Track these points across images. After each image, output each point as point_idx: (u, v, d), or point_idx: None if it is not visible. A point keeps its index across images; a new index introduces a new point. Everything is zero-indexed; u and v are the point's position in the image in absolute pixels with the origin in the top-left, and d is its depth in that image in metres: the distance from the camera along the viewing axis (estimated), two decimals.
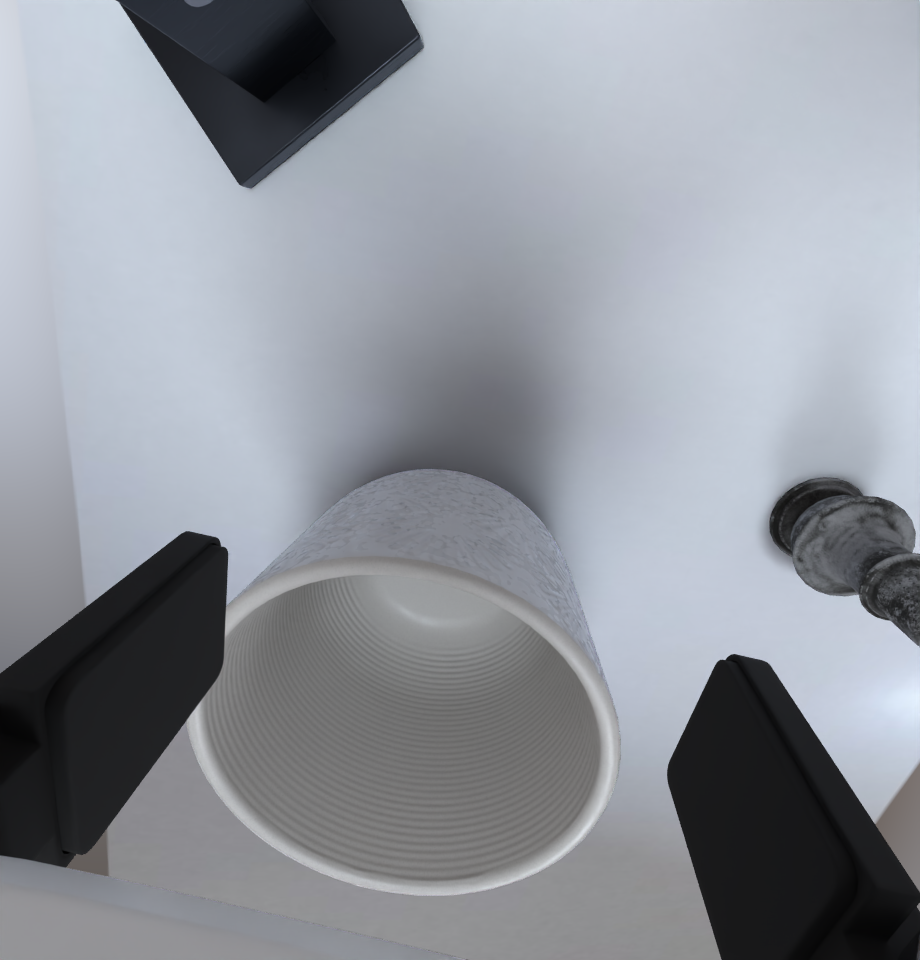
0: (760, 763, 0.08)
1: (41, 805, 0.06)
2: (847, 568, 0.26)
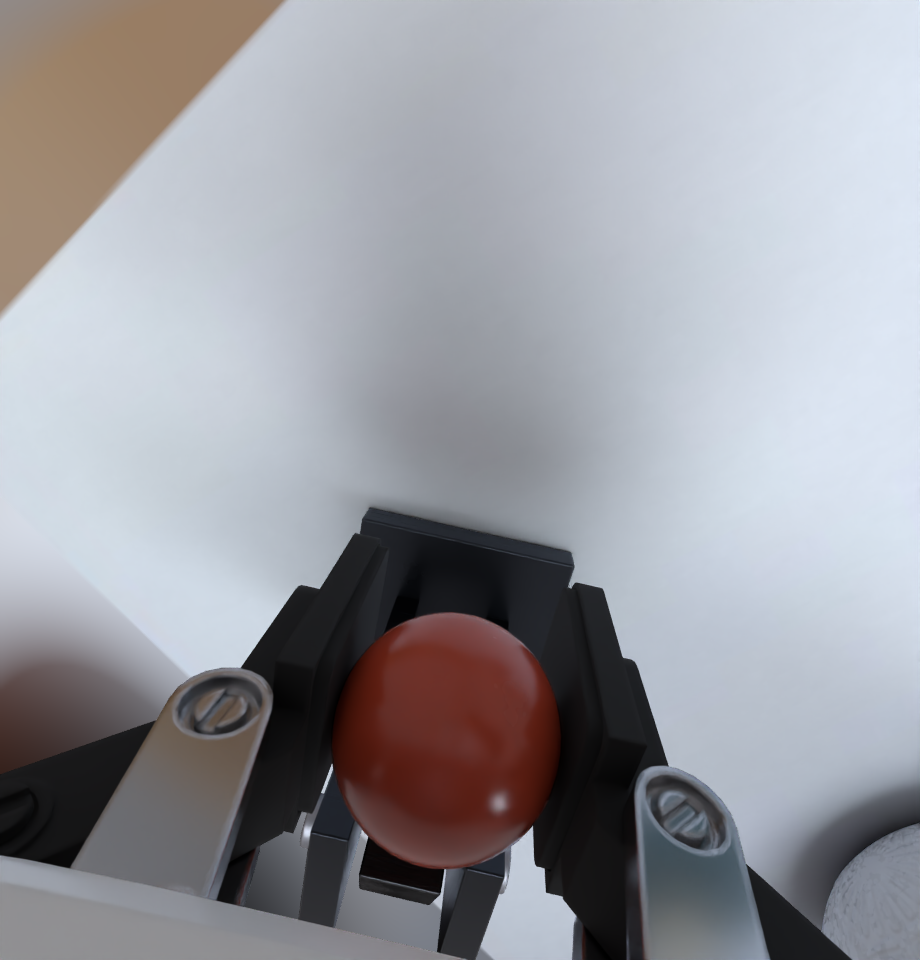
0: (568, 664, 0.09)
1: (299, 767, 0.07)
2: None
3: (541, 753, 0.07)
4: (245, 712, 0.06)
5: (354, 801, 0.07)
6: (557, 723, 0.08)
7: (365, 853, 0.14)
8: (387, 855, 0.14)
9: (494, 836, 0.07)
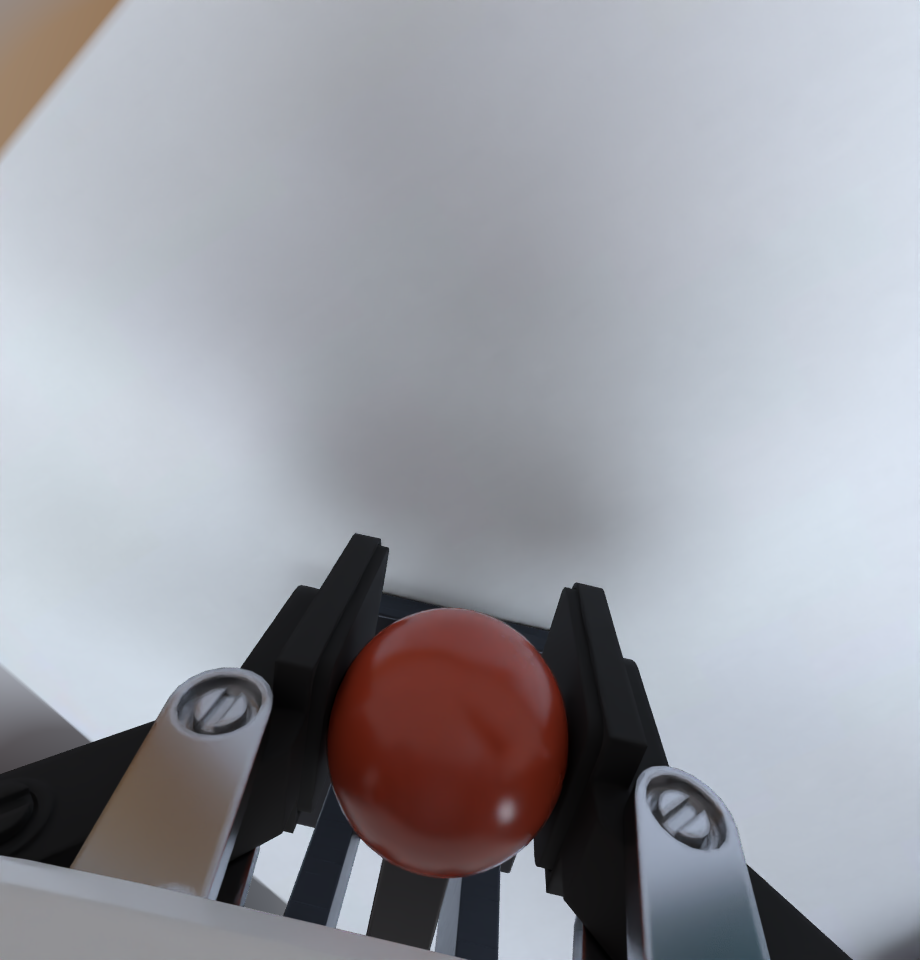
0: (569, 664, 0.09)
1: (298, 767, 0.07)
2: None
3: (552, 706, 0.07)
4: (244, 712, 0.06)
5: (359, 759, 0.07)
6: (562, 698, 0.08)
7: None
8: None
9: (513, 783, 0.06)
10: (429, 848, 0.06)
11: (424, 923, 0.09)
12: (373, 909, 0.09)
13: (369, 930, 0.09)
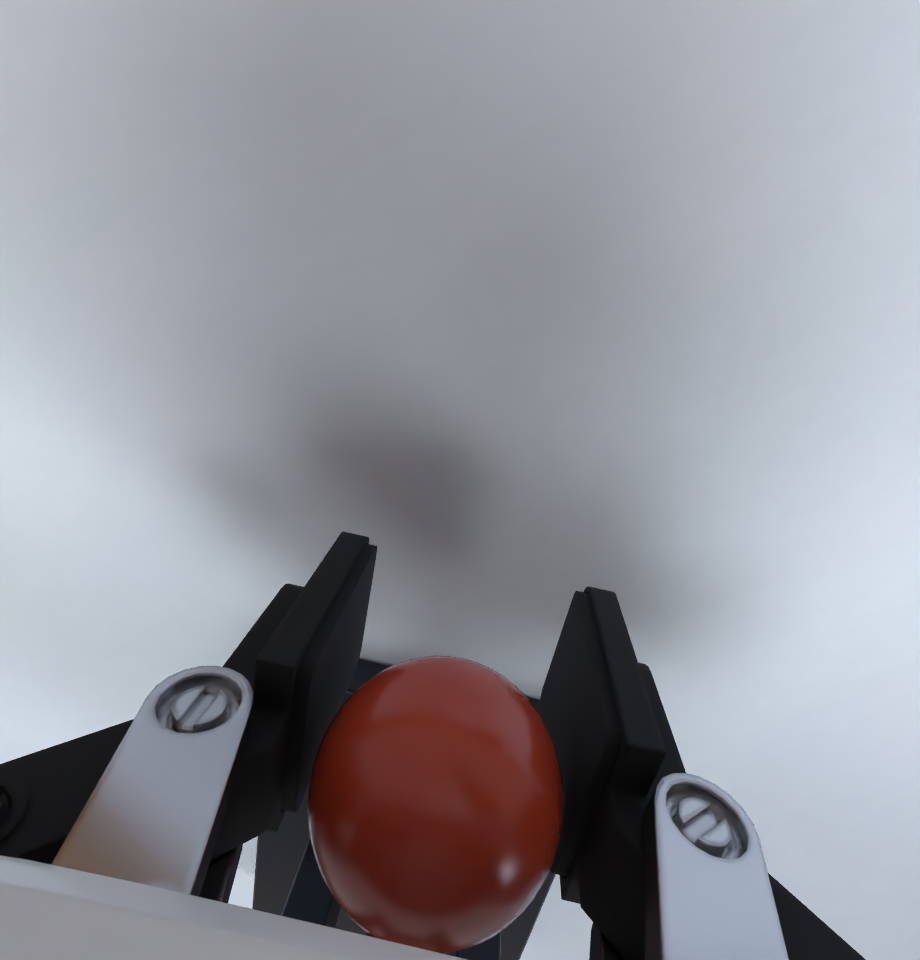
0: (583, 669, 0.09)
1: (281, 766, 0.07)
2: None
3: (544, 740, 0.07)
4: (224, 710, 0.06)
5: (351, 791, 0.06)
6: (553, 744, 0.08)
7: None
8: None
9: (511, 810, 0.06)
10: (423, 890, 0.06)
11: None
12: None
13: None
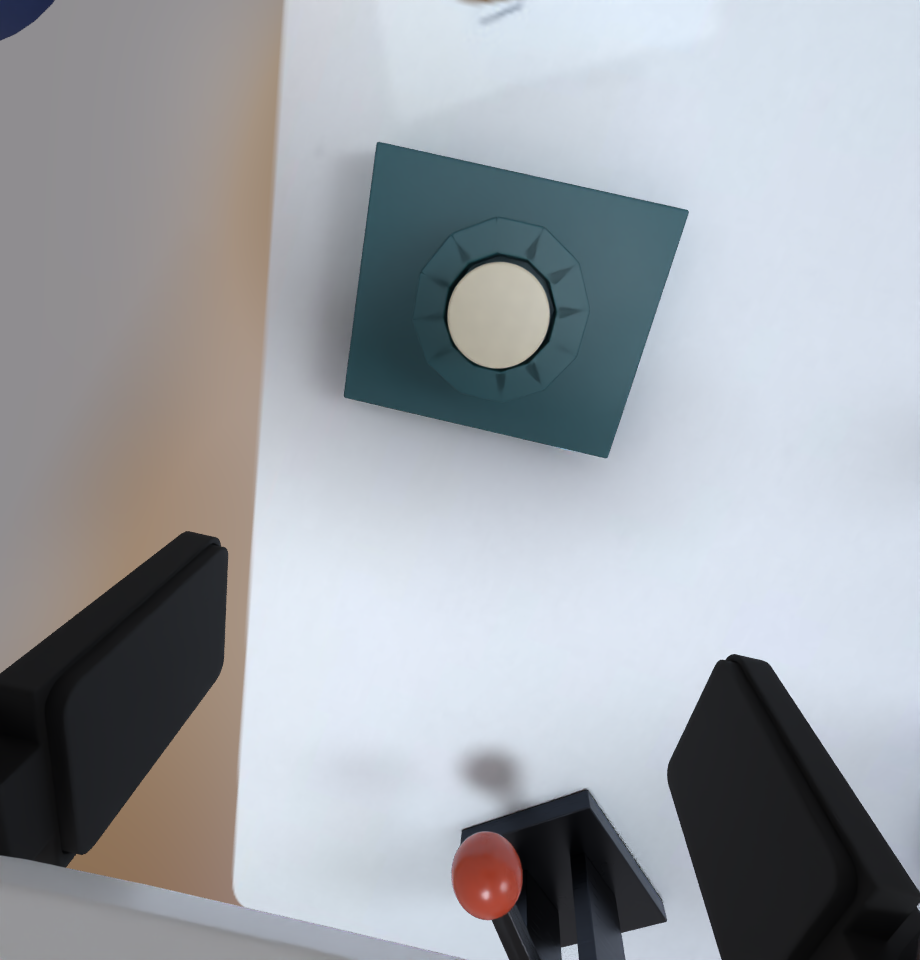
0: (760, 763, 0.08)
1: (41, 805, 0.06)
2: None
3: (496, 849, 0.26)
4: None
5: (456, 889, 0.26)
6: (505, 846, 0.27)
7: None
8: None
9: (487, 875, 0.25)
10: (478, 903, 0.25)
11: (521, 949, 0.26)
12: (506, 952, 0.26)
13: None
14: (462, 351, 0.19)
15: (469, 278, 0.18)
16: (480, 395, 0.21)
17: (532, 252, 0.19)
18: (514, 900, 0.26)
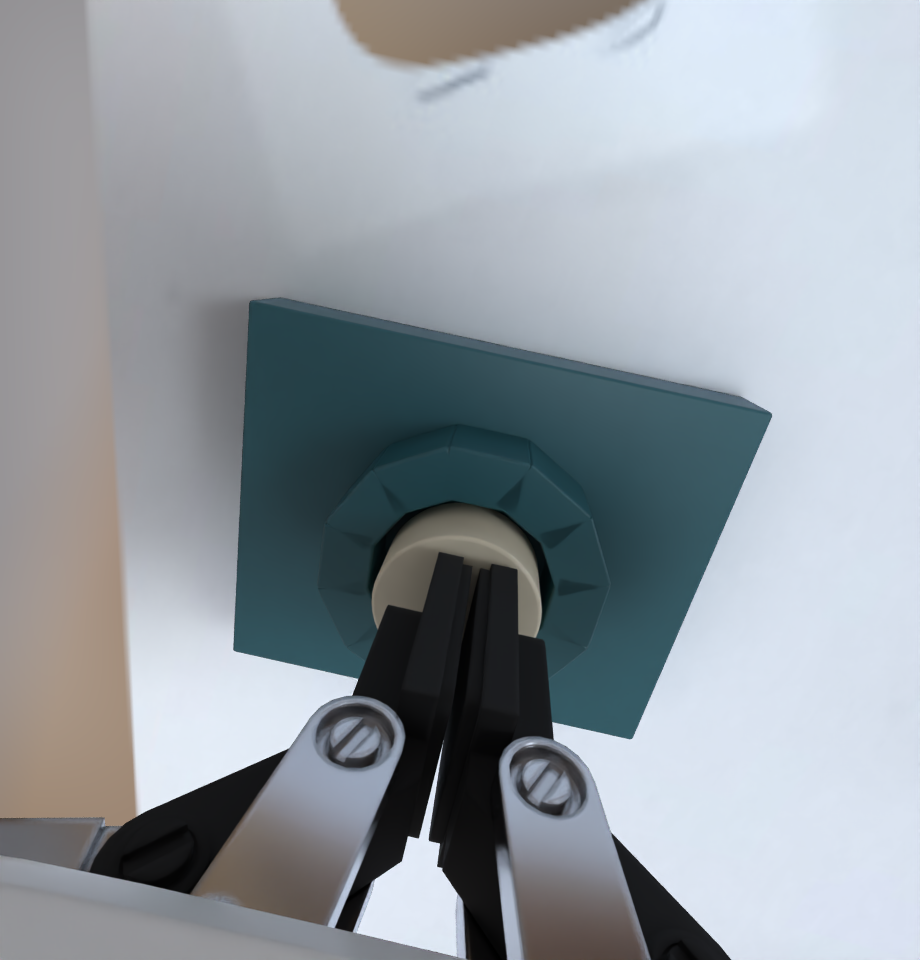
0: (469, 641, 0.09)
1: None
2: None
3: None
4: (379, 742, 0.06)
5: None
6: None
7: None
8: None
9: None
10: None
11: None
12: None
13: None
14: None
15: (404, 558, 0.11)
16: None
17: (512, 501, 0.11)
18: None
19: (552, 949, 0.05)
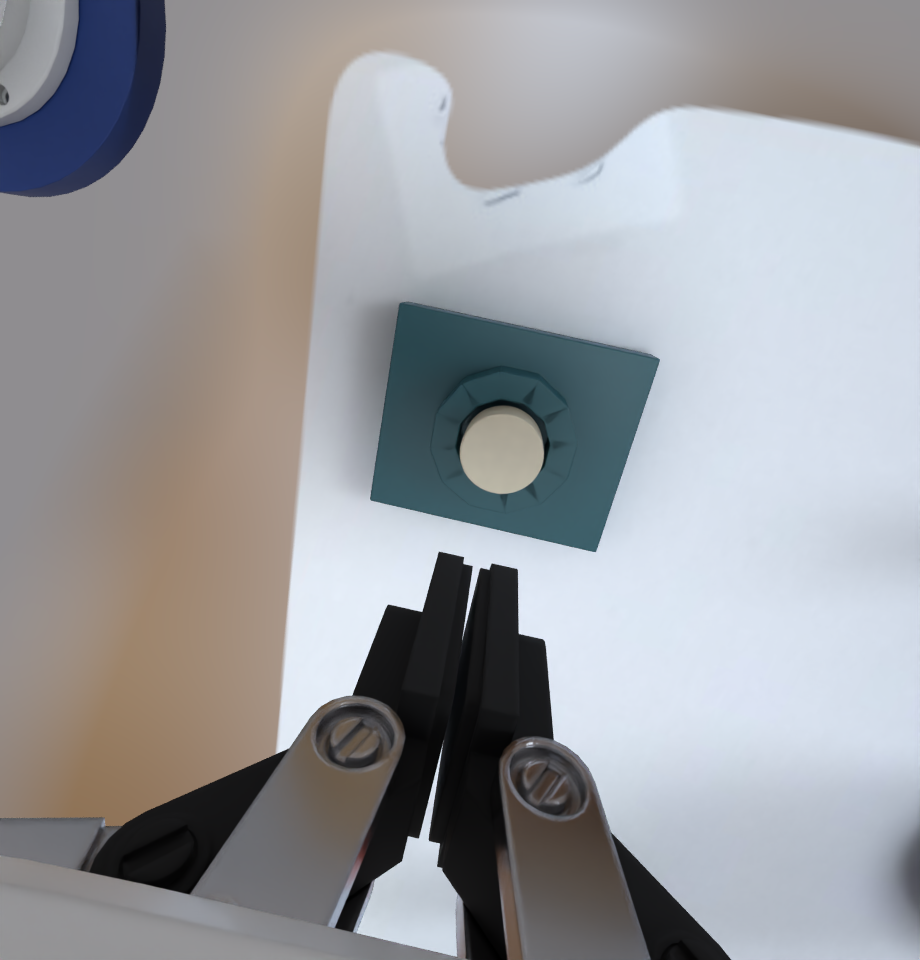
0: (469, 641, 0.09)
1: None
2: None
3: None
4: (379, 743, 0.06)
5: None
6: None
7: None
8: None
9: None
10: None
11: None
12: None
13: None
14: (472, 480, 0.23)
15: (477, 426, 0.22)
16: (487, 508, 0.25)
17: (529, 398, 0.23)
18: None
19: (552, 949, 0.05)
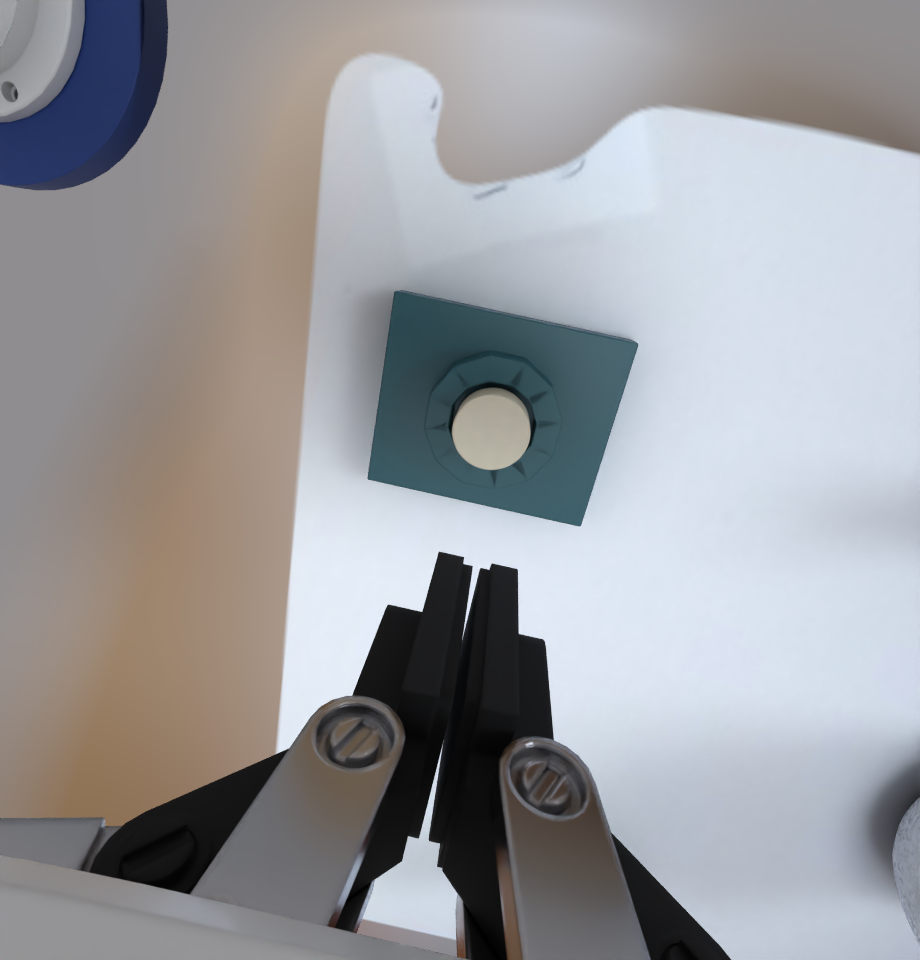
0: (469, 641, 0.09)
1: None
2: None
3: None
4: (379, 743, 0.06)
5: None
6: None
7: None
8: None
9: None
10: None
11: None
12: None
13: None
14: (463, 457, 0.25)
15: (468, 406, 0.24)
16: (478, 484, 0.27)
17: (516, 381, 0.25)
18: None
19: (552, 949, 0.05)
